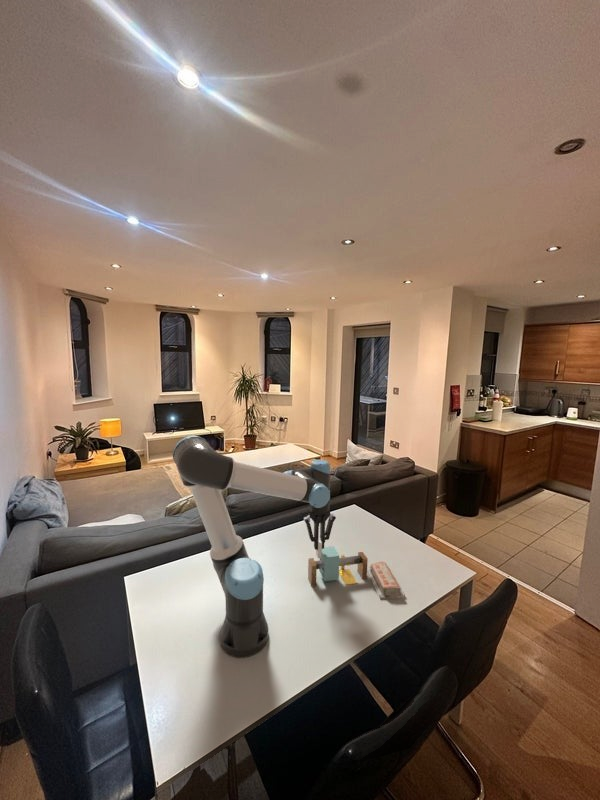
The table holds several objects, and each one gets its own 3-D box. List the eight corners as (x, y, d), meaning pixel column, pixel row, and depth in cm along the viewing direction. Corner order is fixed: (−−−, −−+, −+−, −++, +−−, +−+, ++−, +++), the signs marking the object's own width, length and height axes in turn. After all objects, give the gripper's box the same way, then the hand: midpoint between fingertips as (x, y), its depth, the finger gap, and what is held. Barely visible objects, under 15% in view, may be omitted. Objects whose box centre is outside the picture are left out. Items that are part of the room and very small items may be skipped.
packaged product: (406, 587, 123) (380, 588, 122) (405, 599, 123) (379, 600, 122) (388, 558, 141) (366, 559, 140) (388, 569, 141) (365, 570, 140)
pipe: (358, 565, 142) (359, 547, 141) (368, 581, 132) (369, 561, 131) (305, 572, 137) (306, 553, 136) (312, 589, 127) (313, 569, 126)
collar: (333, 568, 137) (333, 546, 136) (338, 579, 130) (339, 555, 129) (319, 570, 135) (319, 547, 134) (324, 581, 129) (324, 557, 128)
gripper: (332, 494, 133) (331, 549, 136) (301, 497, 130) (300, 553, 133) (339, 502, 126) (337, 559, 129) (306, 505, 123) (305, 564, 126)
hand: (318, 556), depth 131 cm, fingers closed
